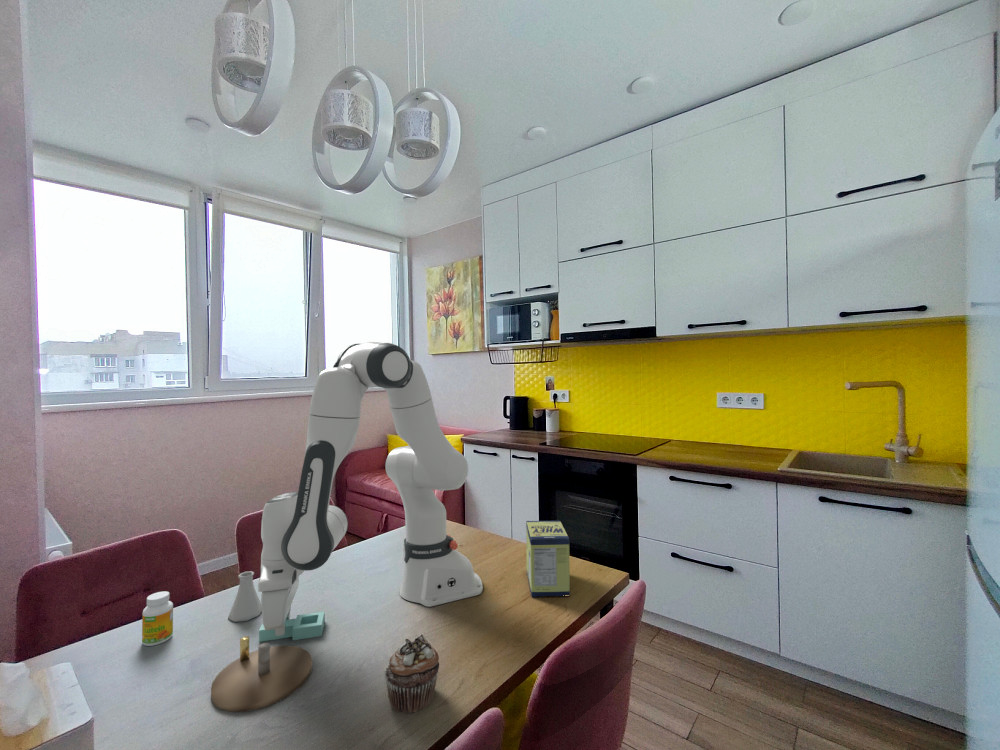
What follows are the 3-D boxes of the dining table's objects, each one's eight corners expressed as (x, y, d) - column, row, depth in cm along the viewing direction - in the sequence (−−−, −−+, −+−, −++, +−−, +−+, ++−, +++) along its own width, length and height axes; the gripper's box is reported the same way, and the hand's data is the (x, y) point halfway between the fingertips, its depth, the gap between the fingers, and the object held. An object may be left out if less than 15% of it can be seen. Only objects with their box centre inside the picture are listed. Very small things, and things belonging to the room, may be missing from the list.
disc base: (317, 645, 94) (317, 616, 94) (304, 700, 78) (305, 665, 78) (228, 659, 90) (228, 629, 90) (195, 721, 73) (195, 683, 73)
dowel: (250, 655, 89) (250, 635, 89) (247, 660, 87) (248, 640, 87) (241, 656, 88) (241, 636, 89) (239, 661, 87) (239, 641, 87)
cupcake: (421, 671, 85) (421, 620, 86) (449, 698, 78) (449, 642, 78) (375, 695, 79) (375, 639, 79) (401, 726, 72) (401, 665, 72)
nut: (324, 621, 103) (324, 611, 103) (321, 635, 98) (321, 624, 98) (264, 630, 100) (264, 619, 100) (257, 645, 94) (257, 634, 94)
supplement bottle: (138, 649, 93) (139, 603, 93) (145, 636, 98) (146, 593, 98) (170, 642, 96) (170, 597, 96) (175, 630, 100) (175, 587, 101)
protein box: (560, 571, 130) (560, 519, 130) (570, 597, 115) (570, 538, 115) (525, 572, 130) (525, 520, 130) (531, 598, 114) (530, 538, 115)
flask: (247, 624, 103) (247, 581, 103) (221, 621, 104) (221, 579, 104) (269, 608, 110) (269, 568, 110) (244, 606, 111) (245, 566, 111)
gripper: (277, 550, 108) (277, 606, 107) (255, 587, 88) (255, 656, 88) (305, 547, 109) (305, 603, 109) (289, 583, 90) (289, 651, 89)
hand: (283, 627), depth 98 cm, fingers open, 4 cm apart
